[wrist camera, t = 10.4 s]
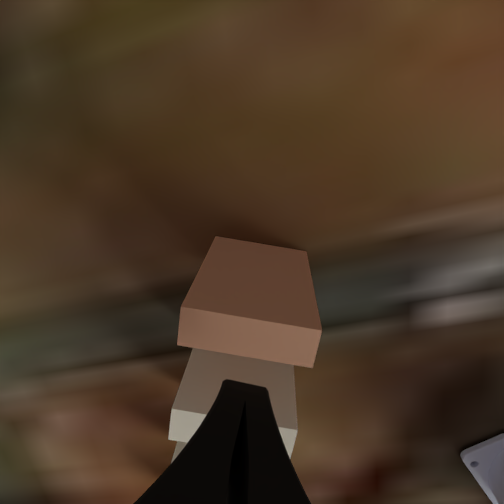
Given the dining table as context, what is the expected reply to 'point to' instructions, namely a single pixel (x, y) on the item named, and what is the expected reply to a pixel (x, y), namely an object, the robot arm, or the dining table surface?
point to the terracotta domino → (253, 304)
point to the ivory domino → (238, 369)
